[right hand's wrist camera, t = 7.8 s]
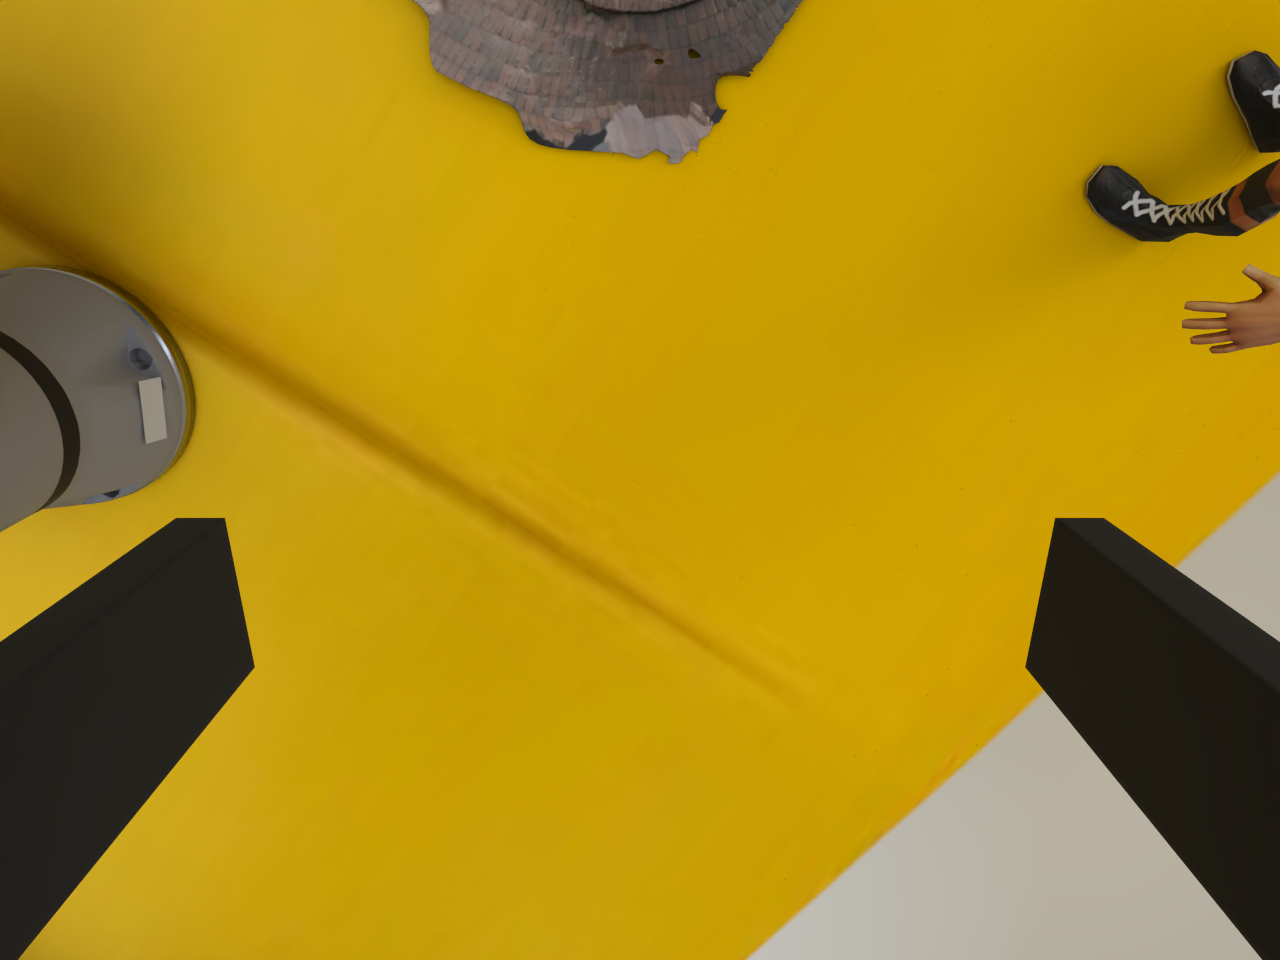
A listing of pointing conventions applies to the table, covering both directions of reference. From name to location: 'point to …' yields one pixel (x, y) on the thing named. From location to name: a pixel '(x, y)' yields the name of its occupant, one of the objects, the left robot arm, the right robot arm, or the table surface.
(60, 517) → the table surface
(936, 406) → the table surface
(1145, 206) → the figurine
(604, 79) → the sculpture
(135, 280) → the table surface
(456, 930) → the table surface
